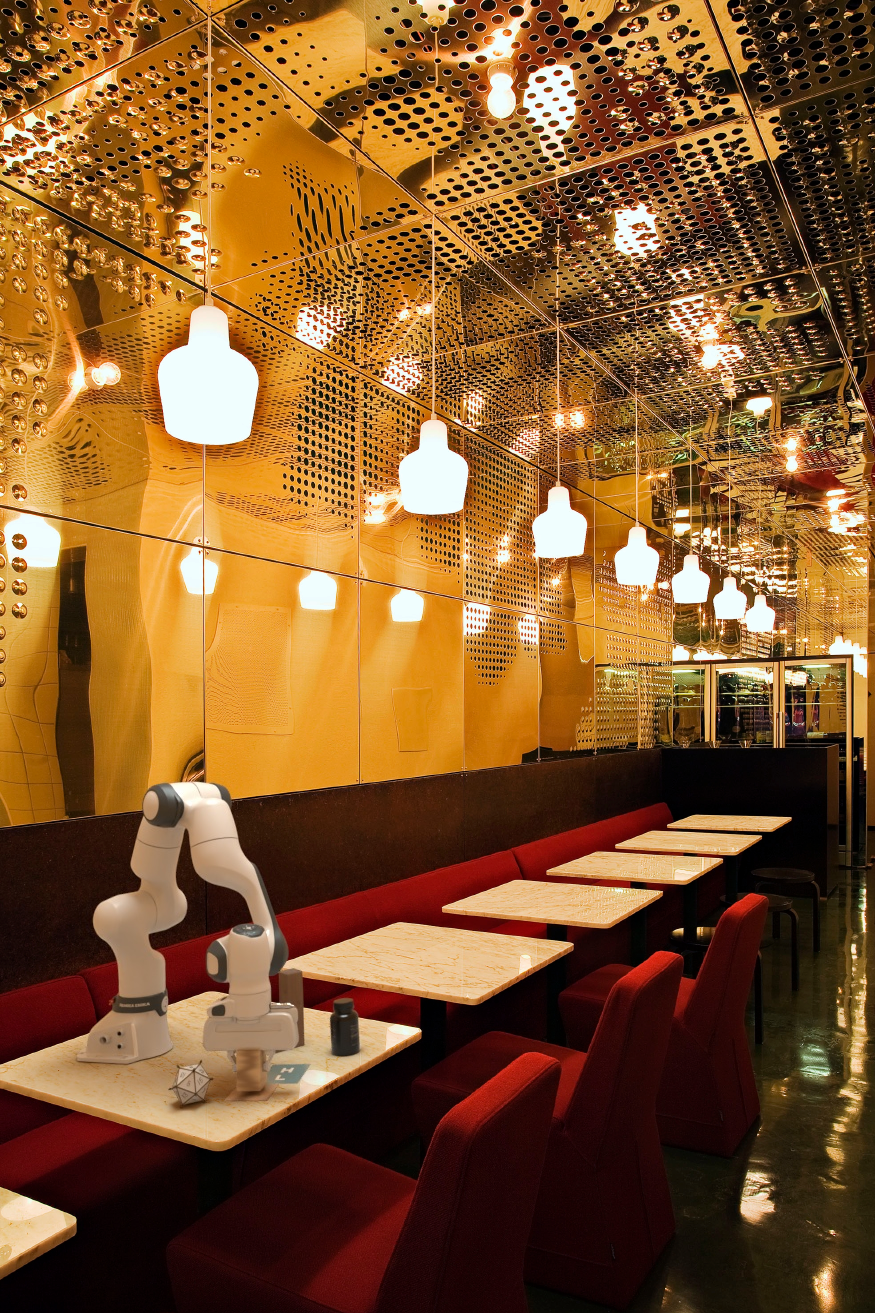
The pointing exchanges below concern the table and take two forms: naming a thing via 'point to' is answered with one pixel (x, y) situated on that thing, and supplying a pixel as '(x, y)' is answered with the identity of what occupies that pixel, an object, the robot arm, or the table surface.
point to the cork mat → (252, 1094)
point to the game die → (191, 1084)
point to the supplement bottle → (344, 1028)
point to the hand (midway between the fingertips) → (251, 1071)
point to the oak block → (250, 1070)
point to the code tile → (286, 1073)
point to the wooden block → (293, 997)
